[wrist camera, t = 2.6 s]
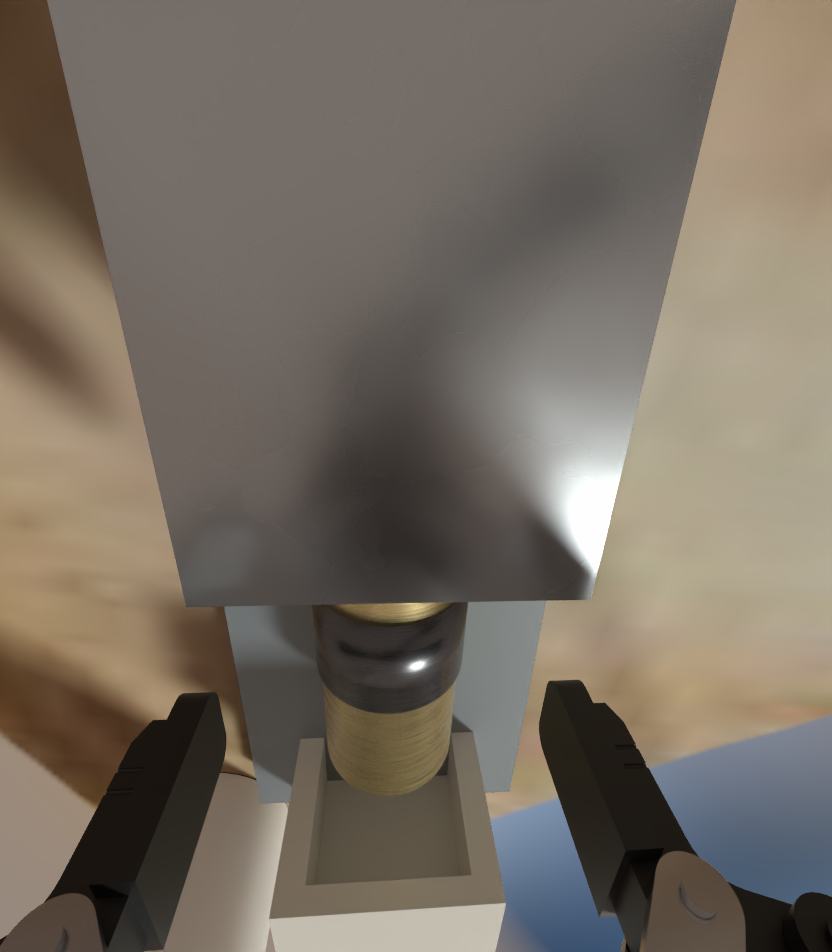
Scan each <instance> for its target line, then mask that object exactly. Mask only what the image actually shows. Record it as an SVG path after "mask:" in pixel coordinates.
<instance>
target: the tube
mask: <svg viewBox="0 0 832 952" xmlns="http://www.w3.org/2000/svg"><path fill="white" fill-rule="evenodd" d="M467 609H468V602H439V603H386V604H333V605H312V615H313V627H314V639H315V651H316V663H317V669H318V673H319V675H320V677H321V680H322V681H323V691H324V704H325V718H326V731H327V743H328V751H329V755H330V758H331V761H332V763H333V765H334V767H335V769H336V770H337V772H338V773H339V774H340V776H341V777H342V778H343V779H344V780H345V781H346V782H347V783H349V784H350V785H352V786H353V787H355V788H356V789H358V790H360V791H363V792H365V793H368V794H372V795H378V796H396V795H401V794H405V793H409V792H411V791H413V790H416V789H418V788H419V787H421V786H423V785H424V784H426V783H427V782H428V781H429V780H431V779H432V778H433V776H434V775H435V774H436V773H437V772H438V771H439V769H440V768H441V766H442V765H443V763H444V761H445V759H446V756H447V753H448V749H449V744H450V734H451V724H452V713H453V702H454V692H455V681H456V678H457V677H458V674H459V672H460V669H461V665H462V658H463V648H464V638H465V629H466V619H467Z"/></svg>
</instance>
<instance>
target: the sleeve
mask: <svg viewBox="0 0 832 952" xmlns="http://www.w3.org/2000/svg"><path fill="white" fill-rule="evenodd" d="M47 2H48V7H49V11H50V15H51V20H52V24H53V28H54V33H55V37H56V42H57V46H58V50H59V55H60V59H61V63H62V68H63V72H64V76H65V81H66V85H67V89H68V94H69V98H70V102H71V107H72V111H73V115H74V120H75V124H76V129H77V133H78V137H79V142H80V146H81V150H82V155H83V159H84V163H85V168H86V172H87V176H88V181H89V185H90V189H91V194H92V198H93V202H94V207H95V211H96V216H97V220H98V224H99V229H100V233H101V237H102V242H103V246H104V250H105V255H106V259H107V263H108V268H109V272H110V276H111V281H112V285H113V289H114V294H115V298H116V303H117V307H118V311H119V316H120V320H121V324H122V329H123V333H124V337H125V342H126V346H127V350H128V355H129V359H130V363H131V368H132V372H133V376H134V381H135V385H136V390H137V394H138V398H139V403H140V407H141V411H142V416H143V420H144V424H145V429H146V433H147V437H148V442H149V446H150V450H151V455H152V459H153V463H154V468H155V472H156V477H157V481H158V485H159V490H160V494H161V498H162V503H163V507H164V511H165V516H166V520H167V524H168V529H169V533H170V537H171V542H172V546H173V550H174V555H175V559H176V564H177V568H178V572H179V577H180V581H181V585H182V590H183V594H184V598H185V603H186V607H226V606H279V605H333V604H386V603H439V602H492V601H546V600H591V595H592V591H593V587H594V583H595V579H596V575H597V571H598V567H599V563H600V558H601V554H602V550H603V546H604V542H605V538H606V534H607V530H608V526H609V521H610V517H611V513H612V509H613V505H614V501H615V497H616V493H617V488H618V484H619V480H620V476H621V472H622V468H623V464H624V460H625V456H626V451H627V447H628V443H629V439H630V435H631V431H632V427H633V423H634V419H635V414H636V410H637V406H638V402H639V398H640V394H641V390H642V386H643V382H644V377H645V373H646V369H647V365H648V361H649V357H650V353H651V349H652V345H653V340H654V336H655V332H656V328H657V324H658V320H659V316H660V312H661V307H662V303H663V299H664V295H665V291H666V287H667V283H668V279H669V275H670V270H671V266H672V262H673V258H674V254H675V250H676V246H677V242H678V238H679V233H680V229H681V225H682V221H683V217H684V213H685V209H686V205H687V201H688V196H689V192H690V188H691V184H692V180H693V176H694V172H695V168H696V164H697V159H698V155H699V151H700V147H701V143H702V139H703V135H704V131H705V127H706V122H707V118H708V114H709V110H710V106H711V102H712V98H713V94H714V89H715V85H716V81H717V77H718V73H719V69H720V65H721V61H722V57H723V52H724V48H725V44H726V40H727V36H728V32H729V28H730V24H731V20H732V15H733V11H734V7H735V3H736V0H47Z"/></svg>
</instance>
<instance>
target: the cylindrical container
mask: <svg viewBox="0 0 832 952" xmlns="http://www.w3.org/2000/svg"><path fill="white" fill-rule="evenodd" d="M287 813H288V809H287V805H286V804H285V803H267V804H261V803H260V798H259V792H258V787H257V781H256V780H254V779H251V778H248V777H244V776H240V775H235V774H228V773H220V774H219V778H218V781H217V784H216V787H215V790H214V793H213V796H212V799H211V803H210V806H209V809H208V812H207V815H206V818H205V821H204V825H203V828H202V831H201V834H200V837H199V840H198V843H197V846H196V850H195V853H194V856H193V859H192V862H191V865H190V868H189V872H188V875H187V878H186V881H185V884H184V887H183V890H182V893H181V897H180V900H179V903H178V906H177V909H176V912H175V915H174V919H173V922H172V925H171V928H170V931H169V934H168V937H167V940H166V944H165V947H164V950H155V951H144V952H265V950H266V944H267V939H268V933H269V926H270V922H269V915H270V910H271V904H272V898H273V893H274V887H275V881H276V876H277V870H278V864H279V859H280V853H281V847H282V842H283V836H284V830H285V825H286V819H287Z"/></svg>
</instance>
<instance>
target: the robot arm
mask: <svg viewBox="0 0 832 952" xmlns="http://www.w3.org/2000/svg"><path fill="white" fill-rule="evenodd" d="M539 734H540V741H541V745H542V749H543V752H544V755H545V758H546V761H547V764H548V767H549V770H550V773H551V776H552V779H553V782H554V785H555V788H556V791H557V794H558V797H559V799H560V802H561V805H562V808H563V811H564V814H565V817H566V820H567V823H568V826H569V829H570V832H571V835H572V838H573V841H574V843H575V847H576V850H577V852H578V855H579V858H580V861H581V864H582V867H583V870H584V873H585V876H586V878H587V882H588V885H589V888H590V891H591V894H592V896H593V900H594V903H595V906H596V909H597V911H598V914H599V917H609V916H617V917H618V920H619V922H620V925H621V928H622V930H623V933H624V940H623V944H622V950H621V952H832V897H830V896H828V895H824V894H821V893H814V892H810V893H805V894H803V895H801V896H800V897H799V898H798V899H797V900H796V901H795V903H794V904H793V905H791V904H788V903H785V902H782V901H779V900H776V899H772V898H769V897H766V896H763V895H760V894H757V893H753V892H750V891H747V890H744V889H742V888H739V887H737V886H735V885H733V884H731V883H729V882H727V881H726V880H725V878H724V877H723V876H722V875H721V874H720V873H719V872H718V871H717V870H716V869H715V868H714V867H712V866H711V865H710V864H709V863H707V862H706V861H704V860H703V859H701V858H700V857H699V856H698V855H697V854H696V852H695V851H694V850H693V849H692V847H691V845H690V844H689V842H688V840H687V839H686V837H685V835H684V833H683V831H682V829H681V827H680V826H679V824H678V822H677V820H676V818H675V816H674V814H673V813H672V811H671V809H670V807H669V805H668V803H667V801H666V800H665V798H664V796H663V794H662V792H661V790H660V788H659V787H658V785H657V783H656V781H655V779H654V777H653V776H652V774H651V772H650V770H649V768H647V767H646V763H645V761H644V759H643V757H642V755H641V753H640V751H639V750H638V749H637V748H636V744H635V742H634V740H633V738H632V737H631V735H630V733H629V731H628V729H627V727H626V725H625V724H624V722H623V721H622V720H621V719H620V718H619V717H618V716H617V715H616V714H615V713H614V712H613V711H612V710H611V709H610V708H609V707H608V705H607V704H606V703H593V702H592V700H591V697H590V695H589V693H588V691H587V689H586V687H585V686H584V684H583V683H582V682H581V681H580V680H562V681H549V682H548V684H547V688H546V693H545V697H544V702H543V707H542V712H541V716H540V722H539ZM225 751H226V732H225V727H224V722H223V718H222V713H221V708H220V703H219V699H218V695H217V693H215V692H208V693H183V694H181V695H180V696H179V697H178V698H177V700H176V702H175V704H174V706H173V708H172V710H171V712H170V714H169V716H168V719H167V720H153V721H152V722H151V723H150V724H149V725H148V726H147V727H146V728H145V729H144V730H143V731H142V732H141V733H140V734H139V736H138V737H137V738H136V739H135V740H134V741H133V742H132V743H131V745H130V747H129V749H128V751H127V753H126V754H125V756H124V758H123V760H122V762H121V764H120V766H119V768H118V772H117V773H115V775H114V777H113V779H112V781H111V783H110V785H109V787H108V789H107V793H106V795H104V796H103V798H102V800H101V802H100V804H99V806H98V808H97V810H96V811H95V813H94V815H93V817H92V819H91V821H90V823H89V825H88V827H87V829H86V830H85V833H84V834H83V836H82V838H81V840H80V842H79V844H78V846H77V847H76V849H75V851H74V853H73V855H72V857H71V859H70V861H69V863H68V865H67V866H66V868H65V870H64V872H63V874H62V876H61V878H60V880H59V881H58V883H57V885H56V887H55V888H54V890H53V891H52V893H51V894H50V895H49V897H48V898H47V899H46V901H45V902H44V903H43V904H41V905H39V906H38V907H37V908H35V909H34V910H33V911H31V912H30V913H29V914H28V915H27V916H25V917H24V918H23V919H22V920H21V921H20V922H19V923H18V924H17V925H16V926H15V927H14V929H12V931H11V932H10V933H9V934H8V935H7V936H5V937H4V938H2V939H0V952H144V951H155V950H164V947H165V944H166V940H167V937H168V934H169V931H170V928H171V925H172V922H173V919H174V915H175V912H176V909H177V906H178V903H179V900H180V897H181V893H182V890H183V887H184V884H185V881H186V878H187V875H188V872H189V868H190V865H191V862H192V859H193V856H194V853H195V850H196V846H197V843H198V840H199V837H200V834H201V831H202V828H203V825H204V821H205V818H206V815H207V812H208V809H209V806H210V803H211V799H212V796H213V793H214V790H215V787H216V784H217V781H218V778H219V774H220V771H221V768H222V765H223V761H224V757H225Z"/></svg>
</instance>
